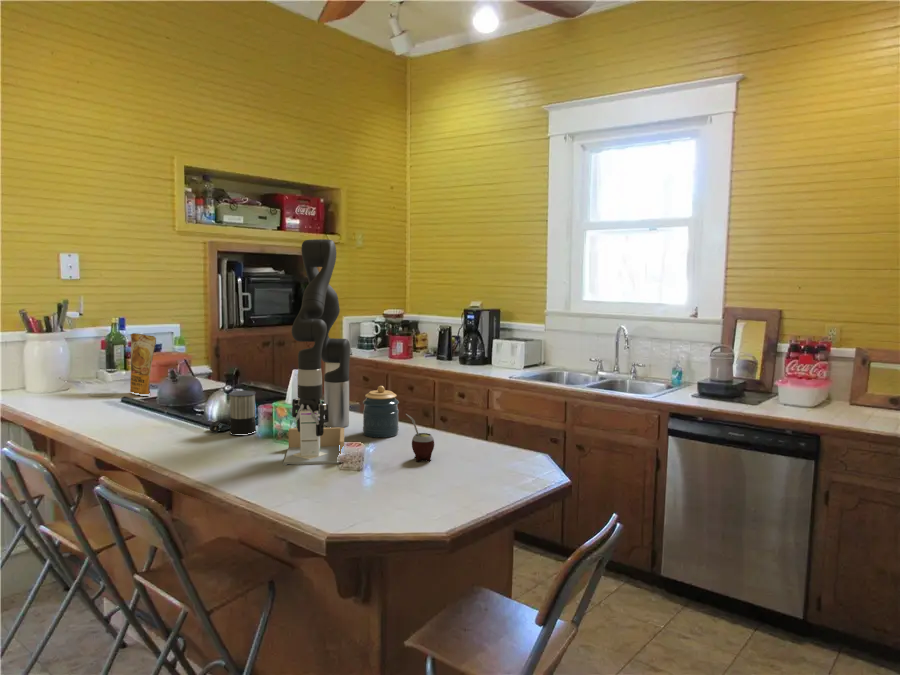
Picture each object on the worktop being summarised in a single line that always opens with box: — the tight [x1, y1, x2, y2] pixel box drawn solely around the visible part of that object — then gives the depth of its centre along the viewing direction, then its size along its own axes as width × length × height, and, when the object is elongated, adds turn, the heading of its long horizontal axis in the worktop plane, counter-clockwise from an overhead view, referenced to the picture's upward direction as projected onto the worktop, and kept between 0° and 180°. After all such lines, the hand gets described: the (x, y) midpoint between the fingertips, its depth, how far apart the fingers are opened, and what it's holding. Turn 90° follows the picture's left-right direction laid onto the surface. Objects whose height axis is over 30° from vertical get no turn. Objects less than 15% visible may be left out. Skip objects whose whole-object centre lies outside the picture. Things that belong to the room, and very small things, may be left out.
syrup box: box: [300, 409, 320, 456], centre depth 202 cm, size 6×6×14 cm
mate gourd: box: [405, 413, 435, 463], centre depth 201 cm, size 8×8×15 cm
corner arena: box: [283, 427, 345, 466], centre depth 204 cm, size 18×18×7 cm
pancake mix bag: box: [129, 332, 157, 394], centre depth 296 cm, size 7×19×28 cm, turn 51°
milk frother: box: [209, 390, 257, 434], centre depth 231 cm, size 14×16×15 cm
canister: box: [362, 385, 400, 438], centre depth 233 cm, size 13×13×18 cm
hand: (310, 433), depth 202 cm, fingers open, 8 cm apart
